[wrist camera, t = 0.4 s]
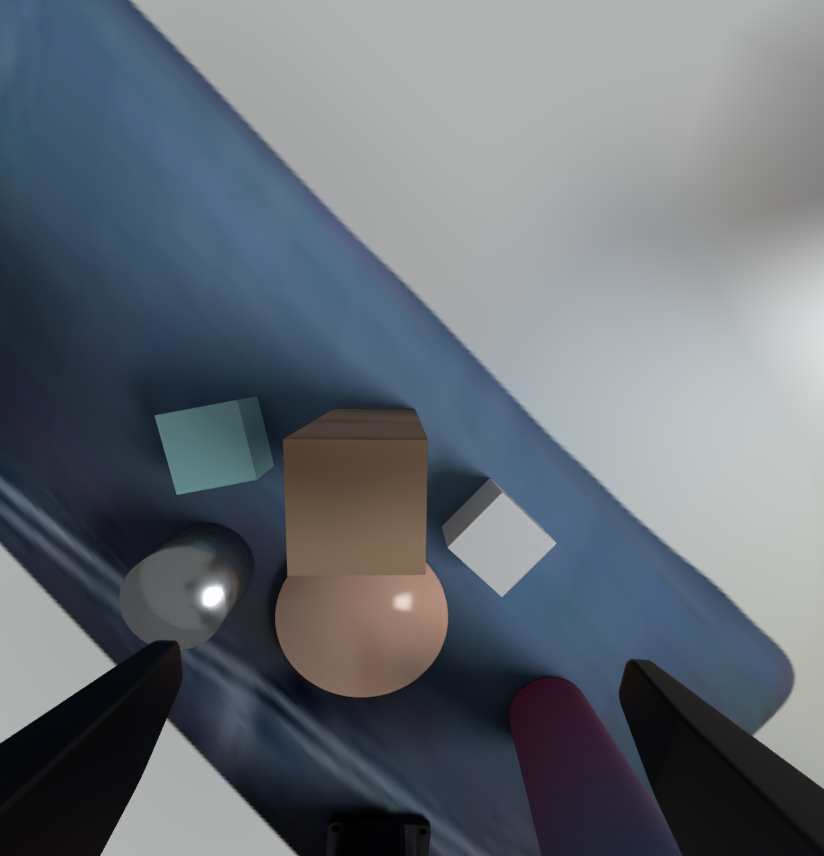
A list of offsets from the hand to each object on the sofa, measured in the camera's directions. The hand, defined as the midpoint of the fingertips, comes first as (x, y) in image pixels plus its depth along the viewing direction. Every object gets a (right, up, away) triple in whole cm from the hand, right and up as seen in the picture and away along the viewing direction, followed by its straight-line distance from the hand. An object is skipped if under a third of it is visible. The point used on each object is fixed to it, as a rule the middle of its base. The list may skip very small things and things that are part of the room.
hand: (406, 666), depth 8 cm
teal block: (-10, +4, +15) cm, 18 cm away
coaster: (-3, -6, +16) cm, 18 cm away
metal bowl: (-12, -3, +15) cm, 20 cm away
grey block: (+5, -1, +16) cm, 16 cm away
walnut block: (-2, +4, +15) cm, 15 cm away
